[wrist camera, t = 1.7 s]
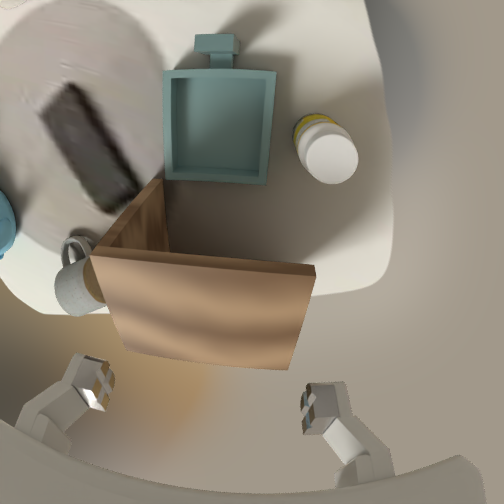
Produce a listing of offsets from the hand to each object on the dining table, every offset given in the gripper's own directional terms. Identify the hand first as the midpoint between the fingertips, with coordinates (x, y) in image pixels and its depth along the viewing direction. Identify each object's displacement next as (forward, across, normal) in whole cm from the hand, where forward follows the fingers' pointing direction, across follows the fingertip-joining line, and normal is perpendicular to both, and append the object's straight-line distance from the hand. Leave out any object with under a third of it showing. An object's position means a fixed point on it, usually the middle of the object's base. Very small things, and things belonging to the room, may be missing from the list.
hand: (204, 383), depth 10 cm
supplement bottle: (+23, -7, -7) cm, 25 cm away
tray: (+22, +2, -8) cm, 24 cm away
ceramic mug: (+25, +21, +14) cm, 36 cm away
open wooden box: (+24, +1, +6) cm, 24 cm away
